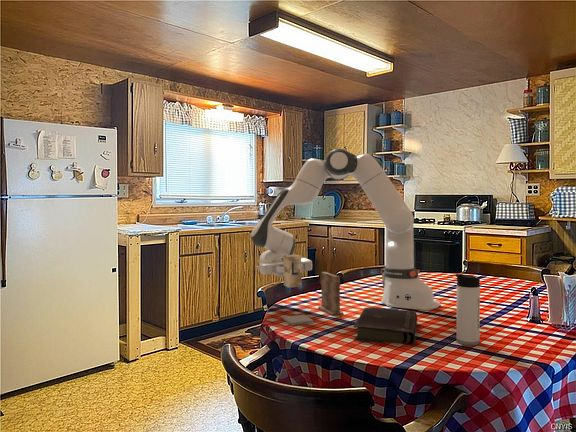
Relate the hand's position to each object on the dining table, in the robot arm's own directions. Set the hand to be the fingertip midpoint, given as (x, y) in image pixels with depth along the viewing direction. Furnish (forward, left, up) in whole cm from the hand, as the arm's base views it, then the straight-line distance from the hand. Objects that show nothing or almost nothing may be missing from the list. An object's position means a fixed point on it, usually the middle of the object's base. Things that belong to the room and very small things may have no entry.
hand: (293, 269), depth 166 cm
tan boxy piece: (+1, 0, -6) cm, 6 cm away
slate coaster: (-6, +6, -17) cm, 18 cm away
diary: (-36, -1, -17) cm, 40 cm away
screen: (-8, -12, -17) cm, 22 cm away
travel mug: (-60, -4, -17) cm, 62 cm away
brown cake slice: (-11, -62, -17) cm, 66 cm away
